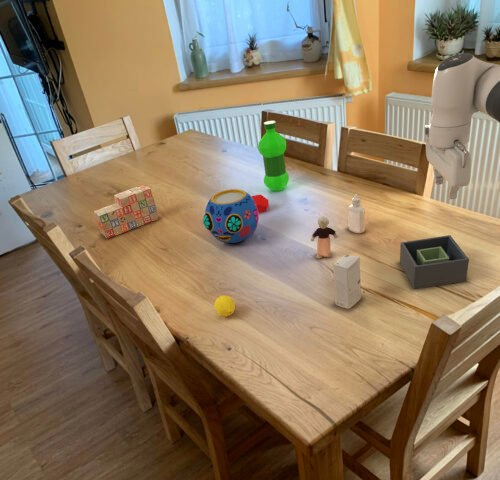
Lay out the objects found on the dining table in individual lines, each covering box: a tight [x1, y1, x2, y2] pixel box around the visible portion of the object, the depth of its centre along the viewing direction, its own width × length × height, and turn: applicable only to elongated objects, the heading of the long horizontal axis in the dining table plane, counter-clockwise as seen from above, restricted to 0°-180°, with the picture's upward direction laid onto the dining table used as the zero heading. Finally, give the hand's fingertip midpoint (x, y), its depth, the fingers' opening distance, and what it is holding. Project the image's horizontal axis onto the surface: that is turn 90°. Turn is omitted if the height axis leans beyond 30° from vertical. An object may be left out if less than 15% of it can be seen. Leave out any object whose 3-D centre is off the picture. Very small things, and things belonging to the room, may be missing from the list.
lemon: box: [213, 295, 236, 317], centre depth 131 cm, size 7×5×5 cm
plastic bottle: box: [257, 120, 290, 192], centre depth 187 cm, size 10×10×25 cm
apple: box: [250, 194, 270, 214], centre depth 179 cm, size 7×7×8 cm
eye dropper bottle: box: [347, 193, 366, 234], centre depth 154 cm, size 4×6×12 cm
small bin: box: [416, 247, 449, 265], centre depth 132 cm, size 6×6×5 cm
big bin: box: [399, 235, 470, 290], centre depth 132 cm, size 13×13×7 cm
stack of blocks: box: [93, 184, 160, 239], centre depth 183 cm, size 21×6×12 cm, turn 123°
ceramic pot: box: [202, 188, 260, 244], centre depth 162 cm, size 18×18×15 cm
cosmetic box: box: [332, 253, 362, 310], centre depth 125 cm, size 6×4×12 cm
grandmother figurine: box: [310, 216, 338, 259], centre depth 145 cm, size 8×4×13 cm, turn 99°
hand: (445, 190), depth 124 cm, fingers open, 8 cm apart
